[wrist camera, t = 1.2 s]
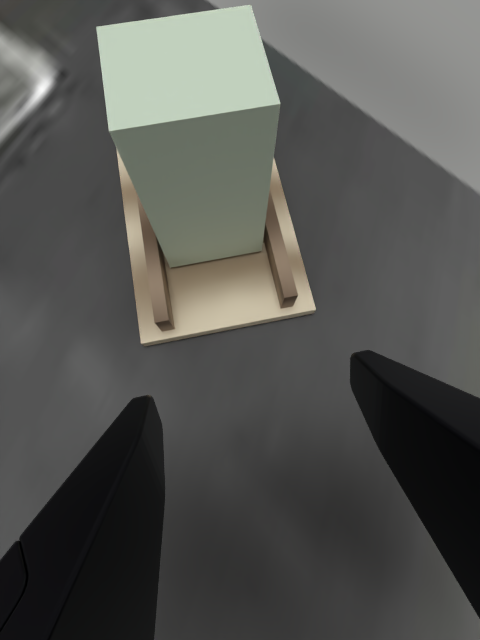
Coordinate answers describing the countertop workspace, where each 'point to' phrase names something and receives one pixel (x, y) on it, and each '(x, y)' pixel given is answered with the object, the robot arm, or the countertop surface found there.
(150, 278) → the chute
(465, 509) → the robot arm
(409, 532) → the countertop surface
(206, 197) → the sage block
